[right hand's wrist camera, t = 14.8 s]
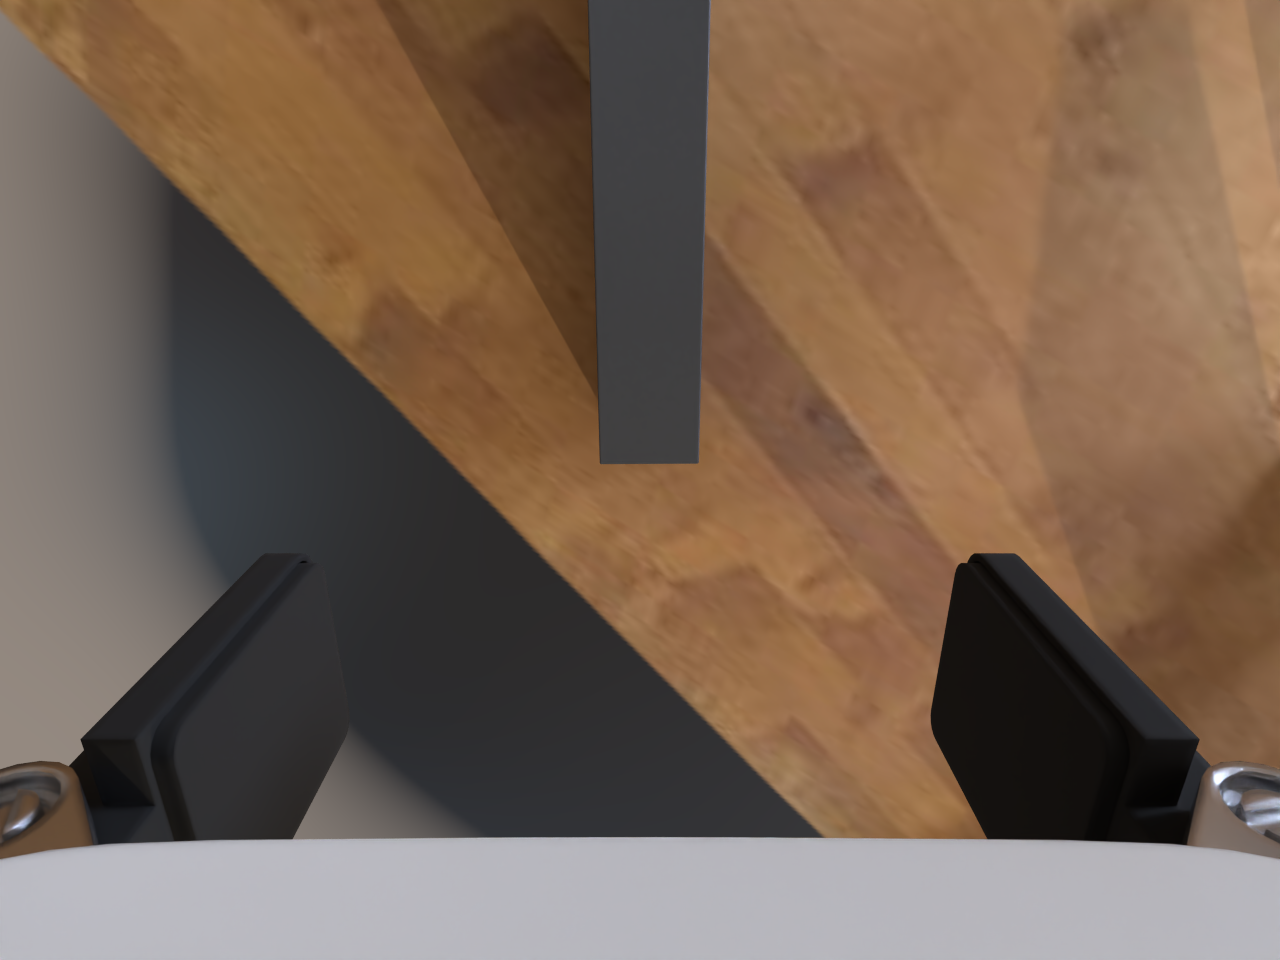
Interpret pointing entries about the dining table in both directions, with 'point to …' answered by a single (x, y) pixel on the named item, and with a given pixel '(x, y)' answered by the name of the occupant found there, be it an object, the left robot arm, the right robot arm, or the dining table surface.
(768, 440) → the dining table surface
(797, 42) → the dining table surface
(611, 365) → the beam
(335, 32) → the dining table surface
